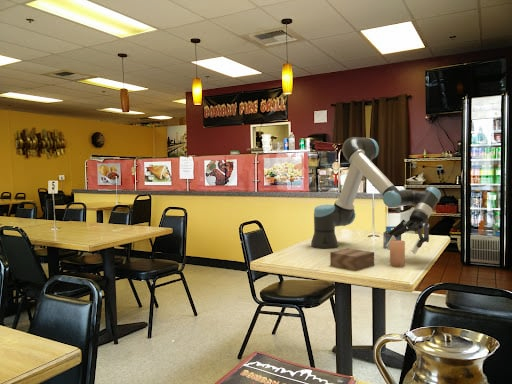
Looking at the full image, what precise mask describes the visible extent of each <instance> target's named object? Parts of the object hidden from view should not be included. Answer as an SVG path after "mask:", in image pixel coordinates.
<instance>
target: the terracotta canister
mask: <svg viewBox="0 0 512 384" xmlns="http://www.w3.org/2000/svg"><path fill="white" fill-rule="evenodd" d="M389 266H391V267H394V268H395V267H396V268H399V267H400V268H402V267H406V241H405V240H402V239H401V240H391V241H390V250H389Z"/></svg>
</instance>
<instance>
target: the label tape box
mask: <svg viewBox="0 0 512 384" xmlns="http://www.w3.org/2000/svg"><path fill="white" fill-rule="evenodd" d="M396 226H397V225H395V226H394V225H393V226H390V225H389V226H385V231H384V232H383V234H382V235H383V248H385V249H386V248H387V247H386V245H387V243H388V242H389V241H388V240H389V238H390V237H391V236H390V234H389V232H390V231H391V230H392V229H394V228H395V227H396ZM396 240H402V234H401V235H400V236H398V237H396ZM387 249H388V248H387Z"/></svg>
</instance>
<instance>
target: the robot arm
mask: <svg viewBox="0 0 512 384" xmlns="http://www.w3.org/2000/svg"><path fill="white" fill-rule="evenodd" d="M343 142H344V143H343V145H342V148H341V150H342V153H343V157H344V158H345V160H346V161H347V162H348V164H350V165H349V168H348V170H347V174H346V177H345V180H344V181H343V185H342V188H341V191H340V195H339V197H338V198H337V199H336V200H335V201H334V204H322V205H321V204H320V205H317V206H315V207H314V211H313V212H314V213H313V230H314V231H313V236H312V239H311V242H310V246H311V247H312V248H317V249H335V248H338V246H339V242H338V239H337V235H336V230H335V229H336V227H345V226H349V225H351V224H353V222H354V220H355V219H356V213H355V212H356V210H355V205H354V201H355V199H356V197H357V193H358V190H359V187H360V185H361V183H362V179H363V177H365V178H366V180H367V181H368V182H370V184H371V185H372V186H373V187H374V188H375V189H376V190H377V192H379V194H380V195H381V196H382V201H383V204H384V205H385V206H386V207H391V208H396V207H403V206H404V207H405V206H415V207H414V209H413V211H412V212H411V213H410V215H409V219H408V220H407V221H406V220H405V219H402V220H401V221H400V222H399V224H397V225H395V226H396V227H395V228H393V229H391V231H390V232H389V234H390V236H391V237H390V238H389V240H388V241H389V242H388V243H387V245H386V247H387V249H388V250H389V251H390V241H391V240H396V237H398V236H400V235H401V236H402V235H403V234H404V233H407V232H415V233H416V232H417V234H418V238H417V239H416V241H415V242H414V244H413V246H412V248H411V250H410V251H411V252H412V254H413V255H416V254H417V252H418V250H419V249H420V248H422V246H423V244H424V243H429V241H430V227H431V225H430V224H429V223H428V220H429V218H430V216H431V214H432V213H433V211H434V209H435V208H436V206H437V204H438V203H439V201H440V199H441V196H442V193H441V191H440V190H439V189H438V188H437V187H435V186H429V187H428V186H427V187H426V188H425V190H414V189H406V188H404V189H400V190H399V189H398V188H397V187H396V186H395V185H394V184H393V182H391V181H390V179H389V178H388V177H387V176H386V175H385V174H384V173H383V172H382V171H381V170H380V169H379V168H378V167H377V166H376V165H375V164H374V163H373V161H372V160H374V159H375V158H377V156H378V155H379V151H380V147H379V145H378V142H377V141H376V140H375V139H374V138H370V137H359V136H358V137H357V136H352V137H349V138H347V139H346V140H345V141H343ZM422 228H423V233H422Z"/></svg>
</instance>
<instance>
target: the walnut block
mask: <svg viewBox="0 0 512 384" xmlns="http://www.w3.org/2000/svg"><path fill="white" fill-rule="evenodd" d="M329 258H330V259H329V261H330V263H329V265H330V266H331V267H335V268H340V269H347V270H351V271H355V272H357V271H360V270H364V269H367V268H370V267H374V266H375V252H374V251H369V250H367V251H366V250H361V249H354V248H343V249H340V250H336V251H331V252H330V255H329Z"/></svg>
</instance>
